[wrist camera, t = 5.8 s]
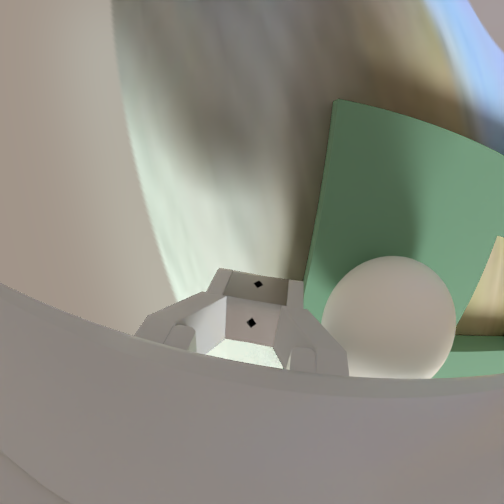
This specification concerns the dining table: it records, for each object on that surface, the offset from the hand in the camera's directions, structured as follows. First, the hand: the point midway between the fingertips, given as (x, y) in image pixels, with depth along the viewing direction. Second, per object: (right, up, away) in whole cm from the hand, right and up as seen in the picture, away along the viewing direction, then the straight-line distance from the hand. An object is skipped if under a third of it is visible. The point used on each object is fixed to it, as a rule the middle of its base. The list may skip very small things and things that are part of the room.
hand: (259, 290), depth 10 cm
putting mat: (+11, +1, +1) cm, 11 cm away
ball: (+5, -1, -1) cm, 5 cm away
